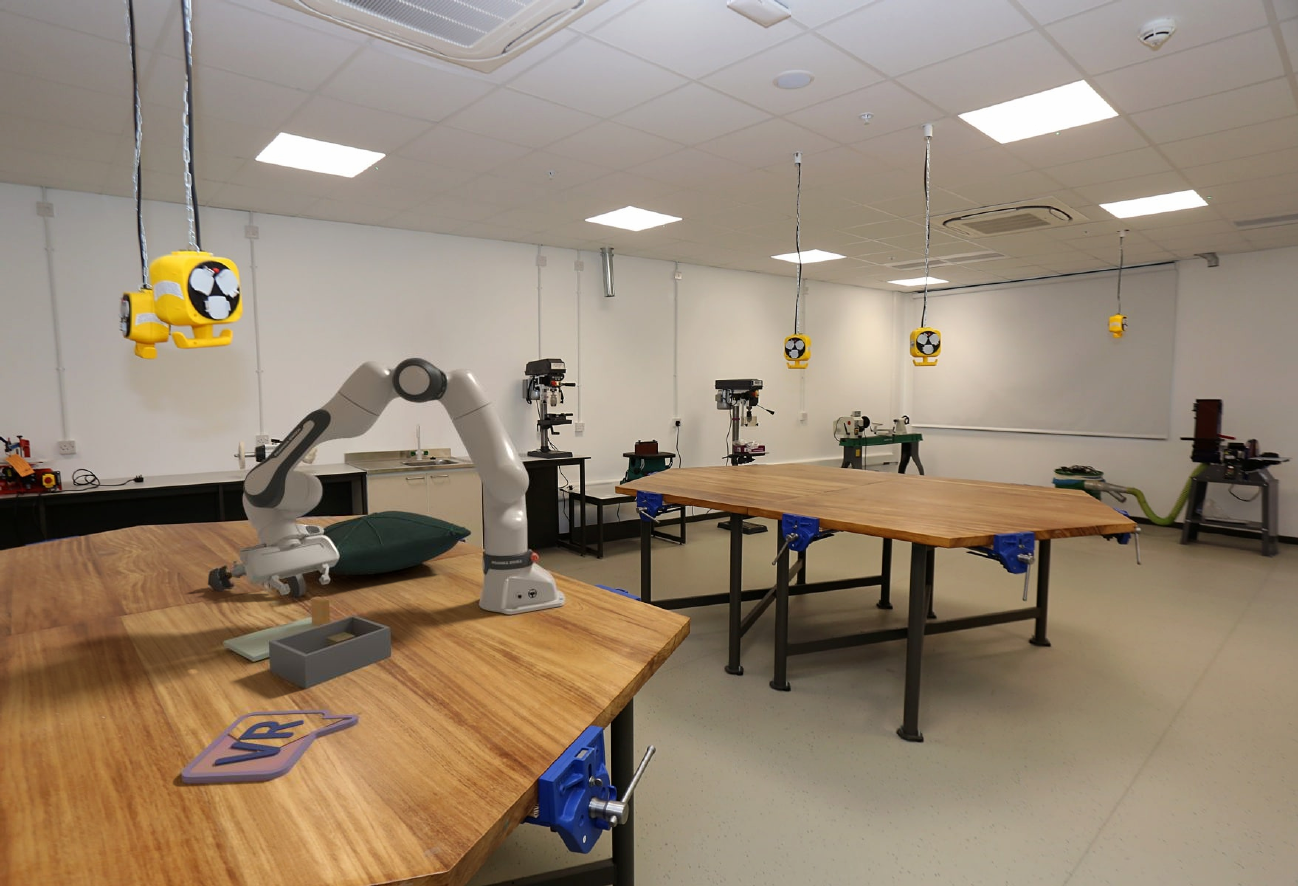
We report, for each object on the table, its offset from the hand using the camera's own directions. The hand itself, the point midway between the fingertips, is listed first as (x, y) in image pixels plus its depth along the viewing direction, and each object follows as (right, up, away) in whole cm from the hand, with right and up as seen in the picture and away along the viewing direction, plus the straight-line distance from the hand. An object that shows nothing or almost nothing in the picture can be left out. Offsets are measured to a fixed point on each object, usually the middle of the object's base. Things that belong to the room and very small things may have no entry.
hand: (306, 587), depth 151 cm
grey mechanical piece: (-30, -8, +30) cm, 43 cm away
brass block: (+15, -11, -14) cm, 23 cm away
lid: (-1, -11, -7) cm, 13 cm away
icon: (+20, -15, -47) cm, 54 cm away
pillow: (-6, -6, +54) cm, 55 cm away
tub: (+15, -12, -19) cm, 27 cm away
